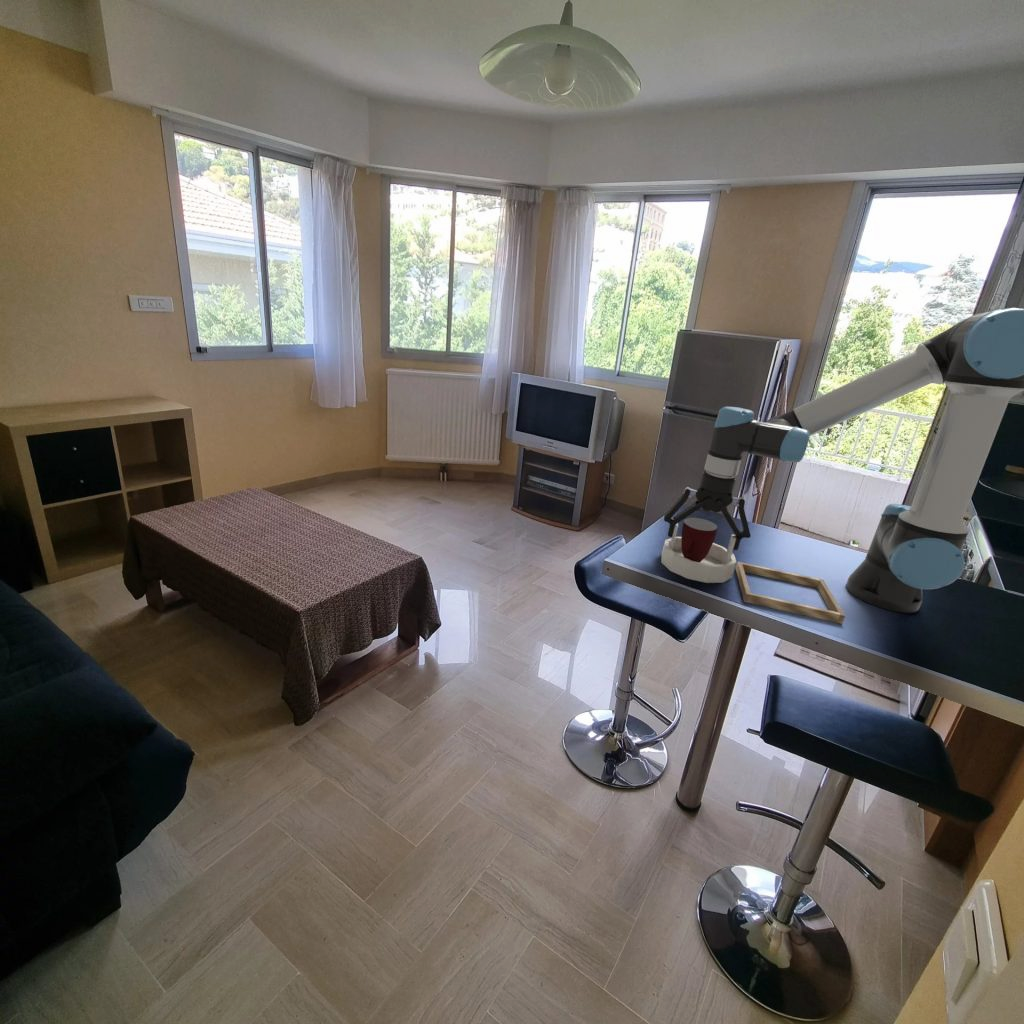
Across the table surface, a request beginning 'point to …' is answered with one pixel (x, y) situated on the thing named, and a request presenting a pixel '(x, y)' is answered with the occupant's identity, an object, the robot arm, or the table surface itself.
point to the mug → (697, 538)
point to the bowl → (699, 563)
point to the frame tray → (830, 615)
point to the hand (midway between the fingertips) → (698, 554)
